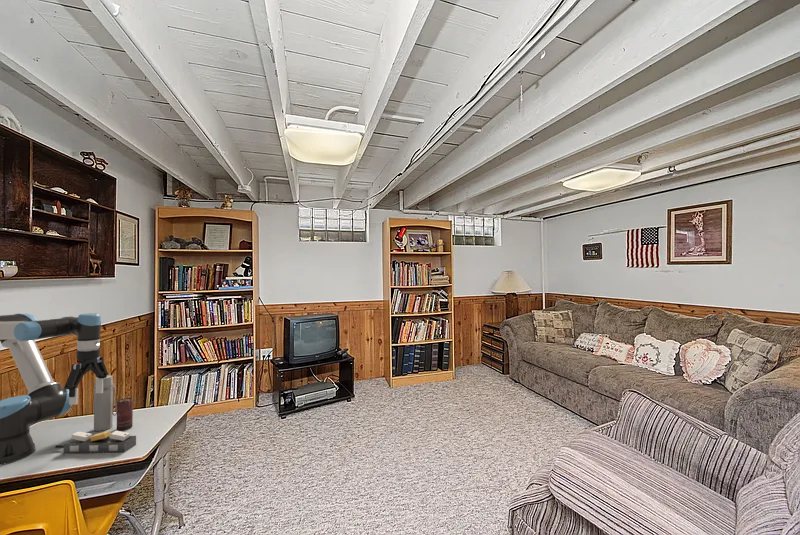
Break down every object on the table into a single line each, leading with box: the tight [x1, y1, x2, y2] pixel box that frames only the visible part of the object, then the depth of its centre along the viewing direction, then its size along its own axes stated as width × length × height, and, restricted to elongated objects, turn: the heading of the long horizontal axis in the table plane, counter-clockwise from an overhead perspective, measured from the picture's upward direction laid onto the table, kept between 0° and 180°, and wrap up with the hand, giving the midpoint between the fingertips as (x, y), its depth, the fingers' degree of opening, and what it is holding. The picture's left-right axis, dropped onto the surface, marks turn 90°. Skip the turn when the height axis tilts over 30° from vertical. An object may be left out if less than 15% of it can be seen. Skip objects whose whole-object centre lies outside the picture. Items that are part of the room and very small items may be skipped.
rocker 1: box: [70, 431, 93, 441], centre depth 153 cm, size 6×3×2 cm, turn 92°
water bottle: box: [93, 374, 117, 432], centre depth 175 cm, size 9×8×25 cm
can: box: [116, 397, 134, 432], centre depth 174 cm, size 6×6×14 cm
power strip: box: [54, 435, 137, 455], centre depth 153 cm, size 31×7×4 cm, turn 92°
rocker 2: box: [110, 430, 131, 441], centre depth 154 cm, size 6×3×2 cm, turn 92°
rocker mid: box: [90, 430, 112, 441], centre depth 153 cm, size 6×3×2 cm, turn 92°
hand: (86, 398), depth 154 cm, fingers open, 13 cm apart
